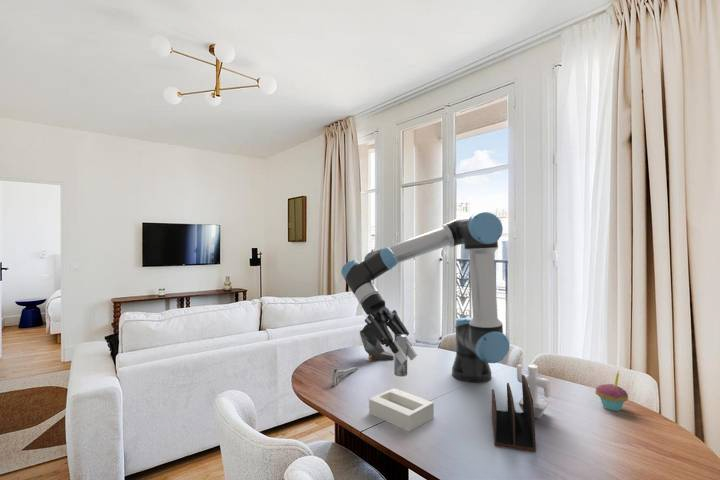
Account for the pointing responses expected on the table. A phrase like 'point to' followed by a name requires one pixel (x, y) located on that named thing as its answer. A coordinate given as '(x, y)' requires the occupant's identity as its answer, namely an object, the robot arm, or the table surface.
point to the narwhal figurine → (373, 345)
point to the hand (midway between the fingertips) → (409, 359)
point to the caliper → (341, 374)
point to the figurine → (535, 388)
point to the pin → (398, 367)
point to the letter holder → (515, 422)
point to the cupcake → (612, 395)
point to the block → (401, 409)
